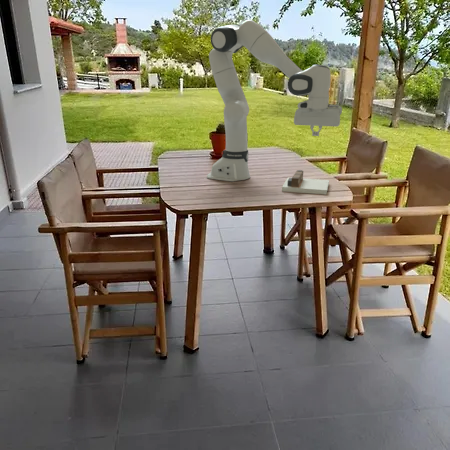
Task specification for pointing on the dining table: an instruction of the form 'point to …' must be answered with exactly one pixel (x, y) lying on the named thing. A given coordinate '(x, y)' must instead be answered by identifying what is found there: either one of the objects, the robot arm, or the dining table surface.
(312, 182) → the board
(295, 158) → the dining table surface
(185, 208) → the dining table surface
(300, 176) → the stool leg
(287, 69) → the robot arm
